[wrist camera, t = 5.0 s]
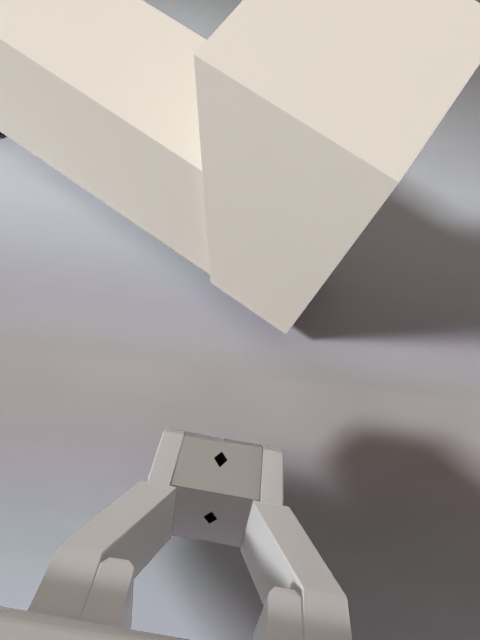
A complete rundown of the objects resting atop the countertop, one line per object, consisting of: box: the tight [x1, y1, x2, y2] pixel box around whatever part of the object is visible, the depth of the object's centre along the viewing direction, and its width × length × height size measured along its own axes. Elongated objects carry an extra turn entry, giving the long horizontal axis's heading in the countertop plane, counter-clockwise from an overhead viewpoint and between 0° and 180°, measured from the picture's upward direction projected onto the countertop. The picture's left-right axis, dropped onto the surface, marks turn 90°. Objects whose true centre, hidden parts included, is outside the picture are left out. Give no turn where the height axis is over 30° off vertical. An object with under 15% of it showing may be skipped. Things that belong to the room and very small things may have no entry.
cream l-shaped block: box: [0, 0, 480, 334], centre depth 12 cm, size 16×4×10 cm, turn 55°
